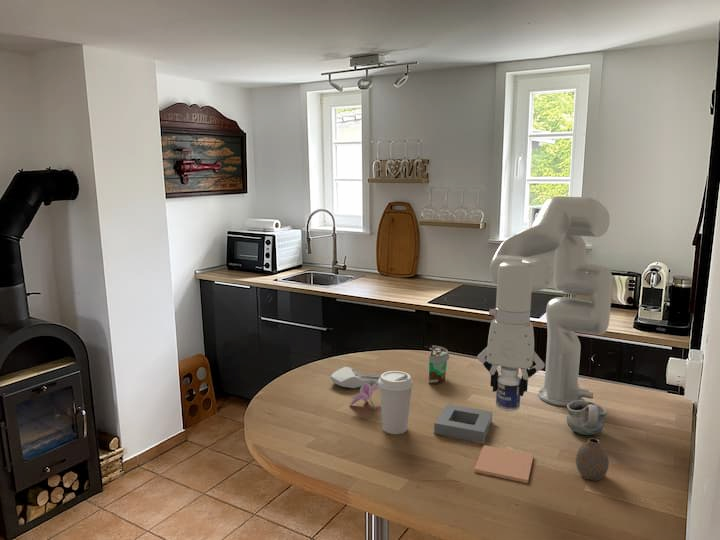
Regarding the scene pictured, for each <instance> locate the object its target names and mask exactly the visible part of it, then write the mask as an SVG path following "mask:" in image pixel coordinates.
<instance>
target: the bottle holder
mask: <svg viewBox="0 0 720 540" xmlns="http://www.w3.org/2000/svg"><path fill="white" fill-rule="evenodd" d="M492 422H493V411H491V410H490V411H489V410H483V409H477V408H471V407H466V406H462V405H461V406H460V405H455V404H454V405H453V404H449V403H446V404H445V406H444V408H442V410H441V412H440V413H439V415H438V417H437V418H436V420H435V422H434V423H433V425H434V428H433V429H434V431H433V432H434V433H433V434H434V435H440V436H446V437H450V438H455V439H461V440H465V441H470V442H475V443H481V444H484V443H485V440H486V439H487V435H488V433H489V430H490V428H491V425H492Z"/></svg>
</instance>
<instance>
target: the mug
mask: <svg viewBox="0 0 720 540" xmlns="http://www.w3.org/2000/svg"><path fill="white" fill-rule="evenodd" d="M566 409H567V411H568V412H567V416H566V424H567V427H569V429H571V430H572V431H573V432H575V433H577V434H579V435H583V436H593V435H597V434H599V433H601V431H602V430H603V429H604V427H605V421H606V420H605V417H606V415H607V410H606V409H605V407H603V406H602V405H600V404H598V403H595V402H592V401H589V400H583V399H582V400H578V401H573V402H571V403H569V404H567V406H566Z"/></svg>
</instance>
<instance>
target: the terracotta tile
mask: <svg viewBox="0 0 720 540" xmlns="http://www.w3.org/2000/svg"><path fill="white" fill-rule="evenodd" d="M533 460H534V454H530V453H526V452H522V451H521V452H520V451H515V450H511V449H506V448H500V447H496V446H491V445H485V444H484V445H483V446H482V449H481V451H480V454H479V456H478V459H477V461H476V463H475V466H474V468H473V472H474V473H478V474H483V475H487V476H490V477H491V476H492V477H497V478H501V479H505V480H506V479H507V480H510V481H516V482H520V483H525V484H528V483H529V479H530V475H531V470H532V465H533Z"/></svg>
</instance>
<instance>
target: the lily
mask: <svg viewBox="0 0 720 540" xmlns="http://www.w3.org/2000/svg"><path fill="white" fill-rule="evenodd" d="M378 389H380V386H379V385H378V382H376V383H375V384H368V383H364V384H363V385H362V387H360V389H359V393H357V394H356V395H354V396H352V397H351V400H352V401H351V402H350V404H349V407H352V406H353V405H354V404H355V403H357V402H358V401H361V400H362V401H363V402H368V401H370V403H371V405H372V407H373V409H374V412H376V411H377V410H376V408H375V405H374V403H373V401H372V396H373V393H374V392H375V391H376V390H378Z"/></svg>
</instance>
